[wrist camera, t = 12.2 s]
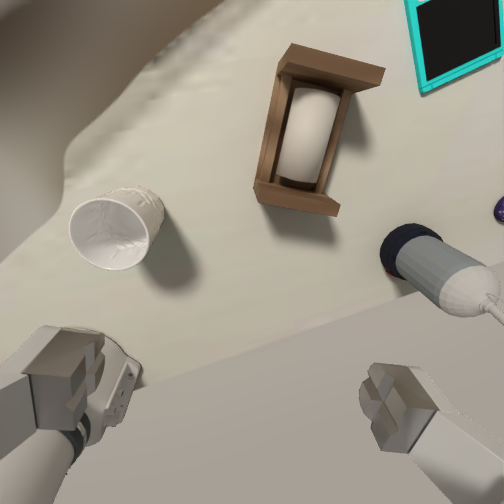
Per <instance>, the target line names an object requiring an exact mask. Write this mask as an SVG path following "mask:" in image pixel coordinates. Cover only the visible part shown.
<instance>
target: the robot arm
mask: <svg viewBox="0 0 504 504" xmlns="http://www.w3.org/2000/svg"><path fill="white" fill-rule="evenodd" d="M140 369H141V366H140V364H139V363H138V362H136V361H135V360H133V359H131V358H130V357H128V356H127V355H125V353H124V352H123V351H122V350H121V349H120V347H119V346H118V345H117V344H116V343H114V342H113V341H112V340H111V339H109V338H107V337H106V336H105V335H104V334H103V333H102V332H95V331H91V330H86V329H79V328H66V327H65V328H62V327H55V326H48V325H44V326H42V327H40V328H38V329H37V330H36V331H35V332H34V333H33V334H32V335H31V337H30V338H29V339H28V340H27V341H26V342H25V343H24V344H23V345H22V346H21V347H20V348H19V349H18V350H17V351H16V352H15V353H14V354H13V355H12V356H11V357H10V358H9V359H8V360H7V361H6V362H5V363H4V364H3V365H2V366H1V367H0V504H53V502H54V500H55V497H56V495H57V493H58V490H59V488H60V486H61V484H62V482H63V479H64V477H65V475H67V471H68V469H69V468H70V467H71V465H72V464H73V463H74V462H75V461H76V459H77V458H78V457H79V456H80V455H81V453H82V451H83V450H84V448H85V447H87V446H91V445H93V444H96V443H97V442H99V441H100V440H101V438H102V436H103V434H104V432H105V429H106V427H108V426H112V427H115V426H116V425H117V424H119V423H121V422H122V420H123V418H124V416H125V413H126V410H127V407H128V404H129V401H130V398H131V395H132V392H133V390H134V387H135V384H136V381H137V378H138V375H139V372H140ZM368 374H369V378H367V379H366V380H365V381H363V382H362V384H361V387H360V389H359V401H360V405H361V408H362V410H363V412H364V414H365V415H366V416H367V417H368V418H369V419H370V420H371V421H372V424H371V430H372V432H373V434H374V436H375V439H376V441H377V443H378V445H379V447H380V449H381V451H387V452H397V453H407V454H408V456H409V457H410V458H411V459H412V460H413V461H414V462H415V463H416V464H417V465H418V467H419V468H420V469H421V470H422V471H423V472H424V473H425V474H426V475H427V476H428V477H429V478H430V479H431V481H432V482H433V483H434V484H435V485H436V486H437V487H438V488H439V489H440V490H441V491H442V493H444V494H445V496H446V497H447V498H448V499H449V500H450V501H451V502H452V503H453V504H504V442H502V441H501V440H500V439H498V438H497V437H495V436H494V435H493V434H491V433H490V432H488V431H487V430H485V429H484V428H483V427H481V426H480V425H478V424H477V423H476V422H474V421H473V420H471V419H470V418H469V417H467V416H466V415H464V414H463V413H458V412H457V411H456V410H455V409H454V407H453V406H452V405H451V404H450V402H449V401H448V400H447V398H446V397H445V396H444V395H443V393H442V392H441V391H440V390H439V388H438V387H437V386H436V385H435V383H434V382H433V381H432V380H431V378H430V377H429V376H428V375H427V373H426V372H425V371H424V370H423V369H421V368H420V367H415V366H405V365H404V366H402V365H393V364H383V363H373V364H372V365H371V366H370V368H369V370H368Z"/></svg>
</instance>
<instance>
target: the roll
mask: <svg viewBox="0 0 504 504" xmlns="http://www.w3.org/2000/svg"><path fill="white" fill-rule="evenodd" d="M340 99H341V98H340V97H339V96H338V95H335V94H333V93H329V92H326V91H323V90H318V89H310V88H296V89H295V91H294V96H293V100H292V104H291V109H290V113H289V118H288V122H287V127H286V131H285V135H284V140H283V144H282V149H281V153H280V158H279V162H278V167H277V171H276V174H277V175H280V176H283V177H286V178H288V179H291V180H294V181H299V182H309V183H317V180H318V176H319V173H320V169H321V166H322V162H323V159H324V155H325V152H326V148H327V144H328V141H329V137H330V134H331V130H332V127H333V123H334V120H335V116H336V113H337V109H338V106H339V102H340Z"/></svg>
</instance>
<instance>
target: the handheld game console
mask: <svg viewBox="0 0 504 504" xmlns="http://www.w3.org/2000/svg"><path fill="white" fill-rule="evenodd" d="M404 4H405V10H406V16H407V22H408V28H409V34H410V40H411V46H412V52H413V58H414V64H415V70H416V76H417V82H418V88H419V92H420V93H425V92H427V91H430V90H431V89H434V88H436V87H438V86H441V85H443V84H445V83H447V82H449V81H451V80H453V79H455V78H457V77H459V76H461V75H463V74H466V73H468V72H470V71H472V70H474V69H476V68H478V67H480V66H482V65H485V64H487V63H489V62H491V61H493V60H495V59H497V58H499V57H501V56H502V55H503V54H504V50H503V49H504V26H503V6H502V0H404Z"/></svg>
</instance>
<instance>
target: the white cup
mask: <svg viewBox="0 0 504 504" xmlns="http://www.w3.org/2000/svg"><path fill="white" fill-rule="evenodd" d="M163 220H164V207H163V205H162V203H161V200H160V198H159V197H158V196H157V195H156V194H154V193H153V192H152V191H151V190H150V189H147V188H144V187H141V186H129V187H125V188H122V189H118V190H115V191H112V192H109V193H106V194H104V195H101V196H99V197H96V198H93V199H91V200H88V201H86V202H84V203H82V204H81V205H79V206H78V207H77V208H76V209H75V210H74V212H73V213H72V215H71V217H70V220H69V225H68V231H69V237H70V240H71V242H72V245H73V246H74V248H75V250H76V251H77V252H78V253H79V255H80V256H81V257H82V258H84V259H85V260H86V261H87V262H89V263H91V264H92V265H94V266H96V267H99V268H102V269H105V270H111V271H120V270H126V269H129V268H132V267H134V266H135V265H137V264H138V263H140V262H141V261H142V260H143V258H144V257H145V255H146V254H147V252H148V250H149V248H150V246H151V245H152V243H153V241H154V239H155V237H156V236H157V234H158V231H159V230H160V226H161V224H162V222H163Z"/></svg>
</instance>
